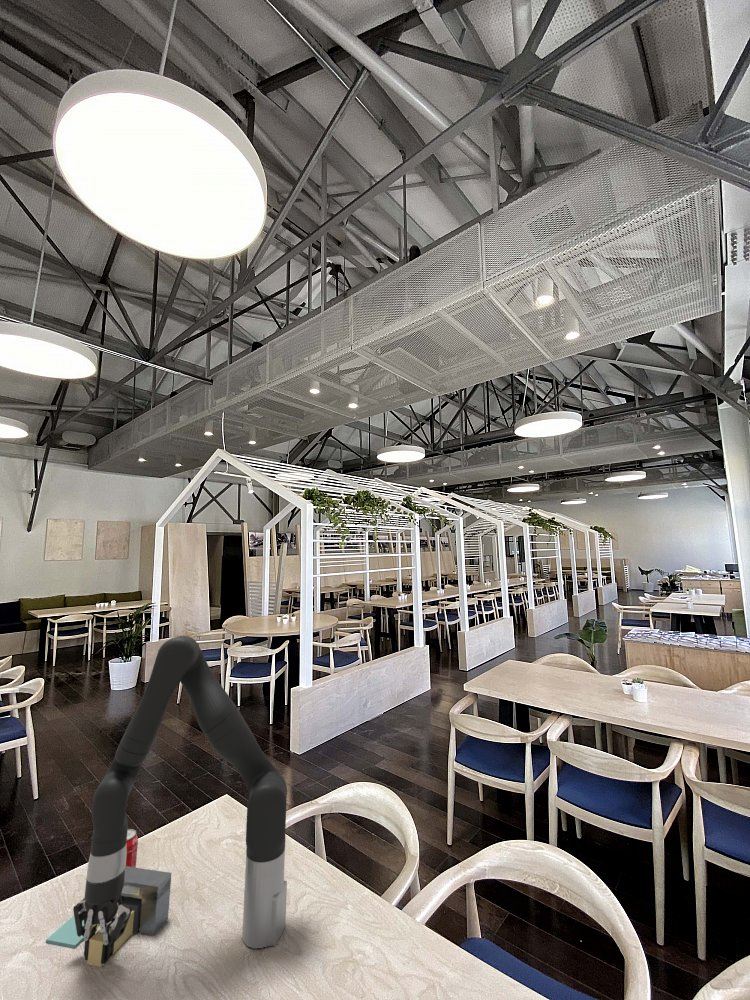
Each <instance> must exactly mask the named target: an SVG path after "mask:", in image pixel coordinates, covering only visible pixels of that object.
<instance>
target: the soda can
mask: <svg viewBox="0 0 750 1000" xmlns="http://www.w3.org/2000/svg"><path fill="white" fill-rule="evenodd" d="M138 844H139V838H138V835H137V830H135V829H133V828H128V831H127V842H126V849H127V856H126V866H128V867H135V868H137V859H138V857H137V856H138V847H139V846H138Z"/></svg>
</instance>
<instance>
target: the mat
mask: <svg viewBox="0 0 750 1000" xmlns="http://www.w3.org/2000/svg"><path fill="white" fill-rule="evenodd" d="M82 926H84V920H83V921H82ZM98 927H100V925H98ZM83 941H84V939H83V936H82V935H81V936H80V937H79V936H78V935H77V931H76V924H75V918H74V915H73V916H71V917H70V918H69V919H68V920H67V921H65V923H63V924H62V925H61V926H60V927H59V928H58V929H57V930H55V931H54V932H53V933H52V934H51V935H49V937H47V938H46V939H45V943H46V944H51V945H57V946H61V947H65V948H66V947H67V948H72V949H76V948H77V947H78V946H79V945H80V944H81V943H82V942H83Z"/></svg>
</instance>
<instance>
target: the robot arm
mask: <svg viewBox="0 0 750 1000" xmlns="http://www.w3.org/2000/svg"><path fill="white" fill-rule="evenodd" d="M179 684H181V685H182V686H183V688H184V689H185V691H186V692H187V695H188V698H189V700H190V703H191V705H192V709H193V711H194V715H195V718H196V721H197V723H198V726H199V728H200V730H201V732H202V733H203V734H204V737H205V738H206V740H207V741H208V743H209V745H210V746H211V747H212V749H213V750H214V751H215V752H216V753H217V754H218V755H219V756H220V757H221V758H223V759H224V760H225V761H227V762H228V763H229V764H230V765H232V766H233V767H234V768H235V770H236V771H237V772H238V774H239V776H240V777H241V780H243V782H244V784H245V786H246V788H247V790H248V793H249V796H248V801H247V806H246V808H247V809H246V825H245V826H246V827H245V828H246V829H245V846H246V851H245V869H244V870H245V873H244V874H245V875H244V891H243V895H244V896H243V898H244V899H243V914H242V927H241V928H242V931H241V932H242V935H241V937H242V938H241V939H242V942H243V944H244V945H245V946H247V947H249V948H250V947H251V948H250V949H254V948H261V949H264V948H263V947H265V948H268V947H270V946H271V947H272V946H273V947H276V946H277V944H278V942H279V940H280V938H281V936H282V933H283V932H284V930H285V928H286V925H287V924H286V923H287V921H286V919H287V891H288V890H287V889H288V888H287V887H288V881H287V880H285V864H286V863H285V861H286V860H285V859H286V825H287V824H286V822H287V821H286V820H287V798H288V787H287V782H286V780H285V779H284V776H282V774H281V773H280V772H279V771H278V769H277V767H275V765H274V764H273V763H272V762H271V761H270V759H269V758H268V757H267V756H266V754H265V753H264V751H263V750H262V749H261V747H260V745H259V744H258V741H257V739H256V738H255V736H254V734H253V732H252V730H251V729H250V727H249V725H248V724H247V722H246V721H245V718H244V717H243V714H241V712H240V711H239V709H238V708H237V705H236V704H235V703H234V701H233V700H232V699H231V697H230V695H228V692H226V690H225V688H224V687H223V686H222V684H221V683H220V682H219V681H218V679H217V678H216V676H215V675H214V673H213V672H212V670H211V667H210V666H209V664H208V662H207V660H206V658H205V655H204V654H203V651H202V649H201V647H200V645H199V643H198V641H196V640H195V639H194V638H192V637H191V636H188V635H177V636H175V637H172V638H170V639H168V640H166V641H165V642H163V643H162V644H161V646H160V647H159V649H158V651H157V654H156V657H155V661H154V664H153V667H152V669H151V673H150V677H149V679H148V683H147V684H146V687H145V690H144V692H143V694H142V696H141V700H140V701H139V703H138V706H137V707H136V710H135V712H134V714H133V715H132V717H131V719H130V722H129V724H128V725H127V726H126V730H125V731H124V734H123V736H122V737H121V740H120V742H119V744H118V747H117V749H116V752H115V755H114V758H113V760H112V762H111V764H110V766H109V767H108V769H107V771H106V773H105V775H104V777H103V779H102V780H101V782H100V784H99V785H98V786H97V788H96V790H95V792H94V796H93V800H92V808H91V812H92V813H91V816H92V817H91V819H92V827H93V828H92V829H93V831H92V835H91V836H92V837H91V846H90V852H89V853H90V854H89V858H88V862H87V869H86V879H85V889H84V898H82V899H81V900H80V901H79V902H77V903H76V904H75V905H74V906H73V909H72V911H73V916H74V918H75V924H76V931H77V935H78V936H79V937H80V936H81V935H82V936H83V939H84V940H83V941H84V947H83V956H84V961H87V960H88V951H89V939H90V938H91V937H92V936H93V935H94V934H96V933H97V932H98V930H100V931H101V934H103V943H104V944H103V946H102V957H101V964H103V965H105V964H107V962H109V960H110V959H111V957H113V955H114V954H113V951H114V943H115V941H116V940H117V939H118V938H119V937H120V936H121V935H122V934H123V933H124V931H125V928H126V925H127V923H128V920H129V918H130V915H131V912H132V907H131V906H129V907H128V908H126V907H124V906H123V905H122V900H121V893H122V890H123V887H124V878H125V867H126V856H127V849H126V842H127V831H128V829H129V821H128V816H127V807H128V801H129V800H128V798H129V795H130V794H131V791H132V789H133V787H134V785H135V782H136V780H137V778H138V775H139V773H140V770H141V768H142V766H143V763H144V761H145V760H146V759H147V756H148V755H149V752H150V750H151V748H152V746H153V744H154V742H155V740H156V737H157V736H158V733H159V730H160V729H161V725H162V722H163V720H164V717H165V713H166V711H167V708H168V705H169V703H170V700H171V698H172V696H173V694H174V693H175V690H176V688H177V687H178V685H179ZM117 913H118V917H117ZM83 920H84V926H82V921H83ZM116 923H117V924H116ZM98 925H99V926H98ZM98 928H99V929H98ZM109 930H110V934H109ZM267 946H268V947H267Z"/></svg>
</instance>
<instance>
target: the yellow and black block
mask: <svg viewBox="0 0 750 1000" xmlns="http://www.w3.org/2000/svg"><path fill="white" fill-rule="evenodd" d="M122 905H123V906H124V907H126V908H128V907H129V906H131V907H132V912H131V915H130V918H129V920H128V923H127V925H126V928H125V931H124V933H123V934H122V935H121V936H120V937H119V938H118V939H117V940H116V941H115V943H114V951H113V955H114V954H115V953H116V951H117V950H118V949H120V948H121V946H122V945H124V943H125V942H126V941H127V940H128V939H129V938H130V937H131V936H132V934H134V935H135V934H136V933H137V932H139V928H140V916H141V905H142V899H140V898H133V897H127V898H125V899H124V900H123V901H122ZM117 917H118V913H117ZM116 924H117V923H116ZM109 934H110V930H109ZM103 944H104V943H103V934H101V931H100V929H98V930H97V932H96V933H95V934H94V935H93V936H92V937H91V938H90V939H89V951H88V960H86V965H90V966H95V967H99V968H101V967H102V966H104V964H101V957H102V946H103Z"/></svg>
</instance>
